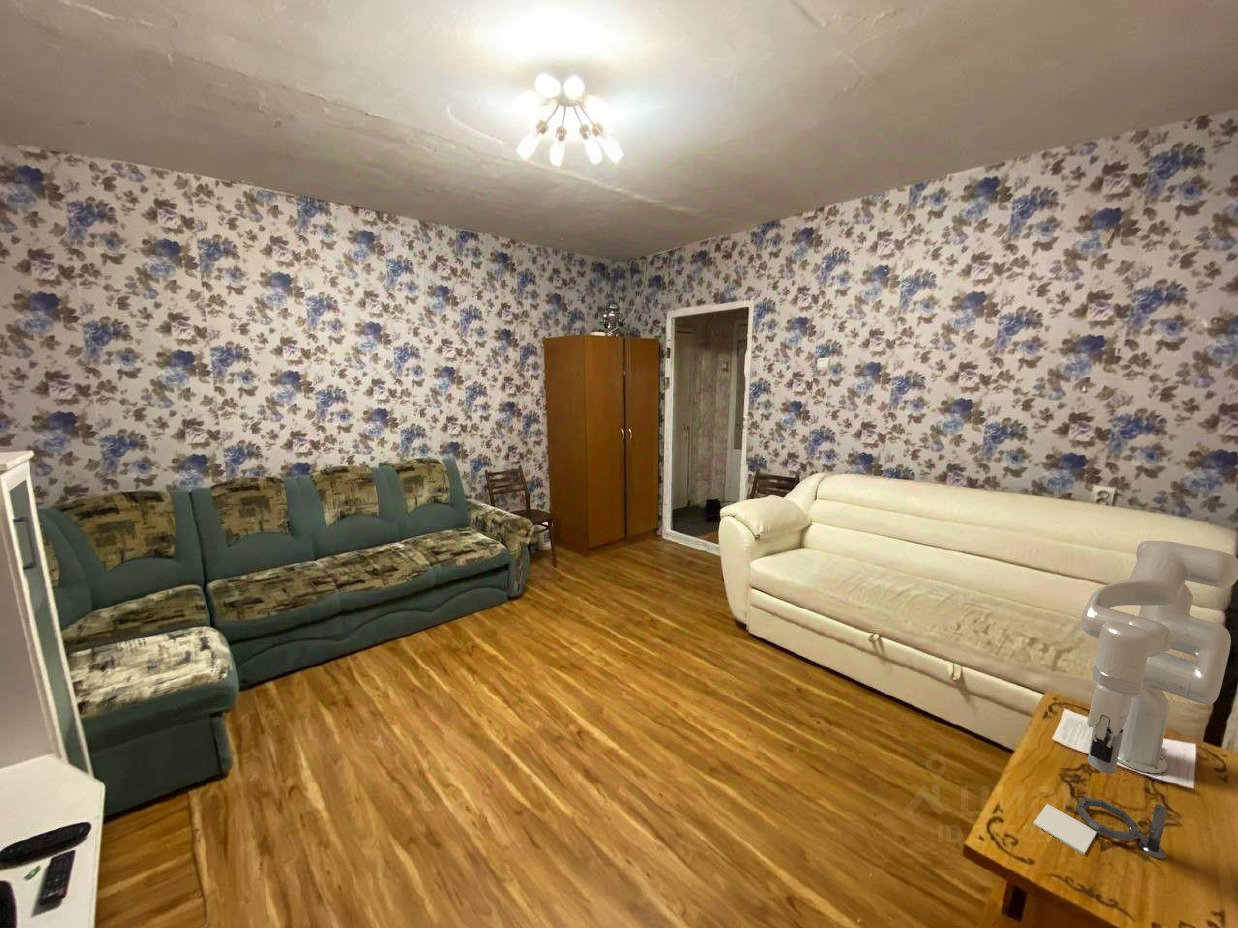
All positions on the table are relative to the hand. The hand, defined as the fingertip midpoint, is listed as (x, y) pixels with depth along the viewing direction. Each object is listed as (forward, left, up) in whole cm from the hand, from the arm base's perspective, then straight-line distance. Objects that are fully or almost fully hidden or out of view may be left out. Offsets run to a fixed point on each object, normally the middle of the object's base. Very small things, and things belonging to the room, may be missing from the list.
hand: (1103, 752), depth 110 cm
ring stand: (-4, +4, -20) cm, 21 cm away
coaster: (+5, -3, -20) cm, 21 cm away
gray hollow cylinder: (0, 0, -4) cm, 4 cm away
